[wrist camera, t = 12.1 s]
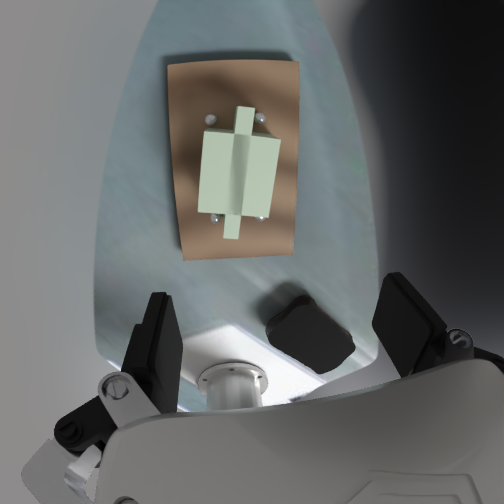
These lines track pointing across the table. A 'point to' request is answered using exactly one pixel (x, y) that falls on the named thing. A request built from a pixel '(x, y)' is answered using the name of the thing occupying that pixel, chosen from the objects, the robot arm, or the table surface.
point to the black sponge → (310, 336)
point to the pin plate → (222, 117)
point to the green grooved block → (237, 172)
